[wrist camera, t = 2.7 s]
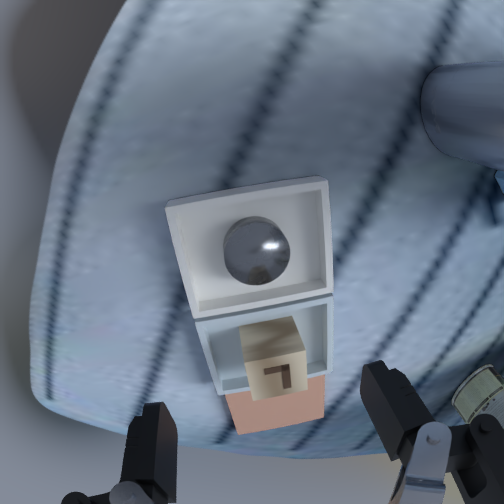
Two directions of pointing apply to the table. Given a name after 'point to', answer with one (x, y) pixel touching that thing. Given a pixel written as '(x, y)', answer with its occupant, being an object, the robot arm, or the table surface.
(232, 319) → the middle tray
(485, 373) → the coffee can
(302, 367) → the letter cube
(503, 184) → the gum box
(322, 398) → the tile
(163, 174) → the table surface
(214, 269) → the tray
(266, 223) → the grey domed disc
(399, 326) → the table surface
